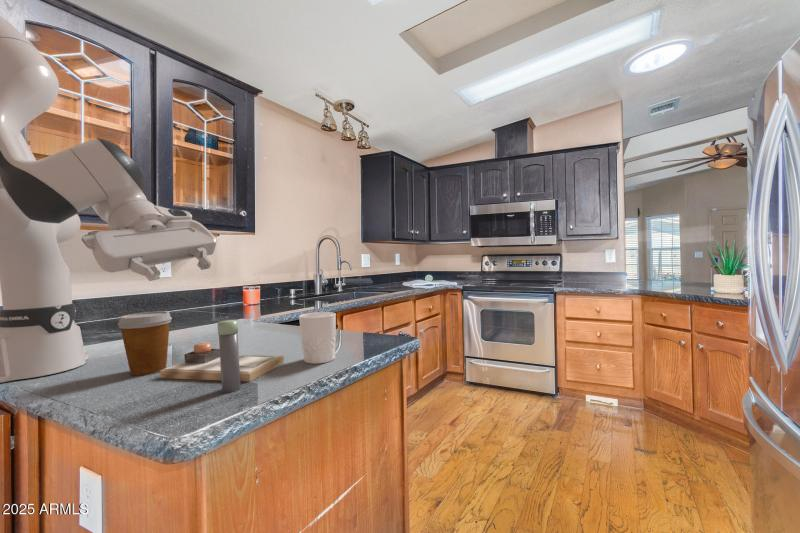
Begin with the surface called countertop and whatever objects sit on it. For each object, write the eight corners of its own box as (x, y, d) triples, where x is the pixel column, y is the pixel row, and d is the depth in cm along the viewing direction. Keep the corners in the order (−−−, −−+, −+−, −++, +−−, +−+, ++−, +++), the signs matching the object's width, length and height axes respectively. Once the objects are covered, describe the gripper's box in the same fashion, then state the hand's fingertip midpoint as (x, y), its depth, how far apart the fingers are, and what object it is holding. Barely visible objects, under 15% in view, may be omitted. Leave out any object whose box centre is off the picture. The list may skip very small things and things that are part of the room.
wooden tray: (160, 378, 74) (159, 360, 73) (204, 360, 85) (203, 345, 85) (250, 381, 69) (249, 362, 69) (283, 362, 81) (283, 346, 81)
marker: (217, 392, 64) (213, 323, 64) (229, 385, 67) (225, 319, 67) (233, 393, 64) (229, 323, 63) (245, 386, 67) (241, 319, 66)
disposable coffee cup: (185, 365, 82) (182, 311, 82) (145, 379, 73) (141, 318, 73) (151, 363, 85) (148, 310, 84) (108, 377, 76) (105, 318, 75)
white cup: (329, 365, 78) (327, 317, 77) (294, 364, 79) (292, 317, 79) (342, 355, 85) (340, 311, 85) (310, 354, 87) (308, 311, 87)
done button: (190, 355, 78) (190, 346, 78) (201, 351, 81) (201, 342, 81) (203, 356, 78) (203, 346, 77) (214, 351, 81) (214, 342, 81)
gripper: (78, 218, 62) (120, 270, 58) (196, 210, 79) (235, 249, 75) (75, 248, 65) (115, 299, 61) (189, 234, 82) (227, 273, 78)
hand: (182, 271), depth 68 cm, fingers open, 8 cm apart
